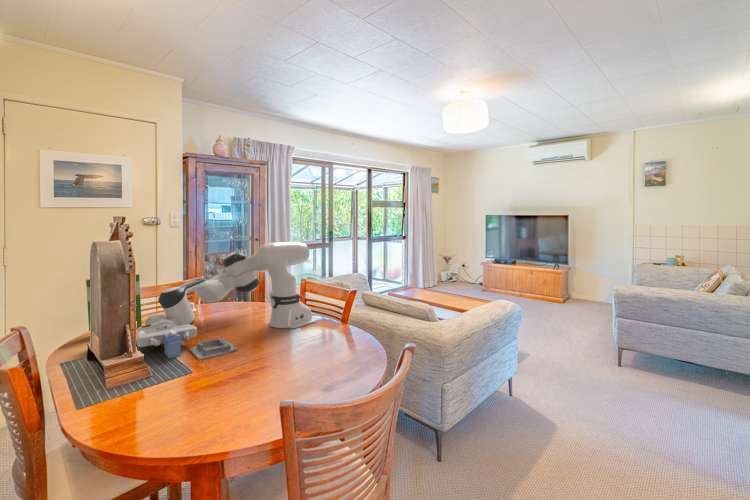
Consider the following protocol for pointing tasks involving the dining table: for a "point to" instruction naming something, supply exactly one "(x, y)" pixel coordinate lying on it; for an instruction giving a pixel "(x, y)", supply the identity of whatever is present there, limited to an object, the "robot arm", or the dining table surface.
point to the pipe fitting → (192, 306)
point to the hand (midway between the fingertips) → (172, 340)
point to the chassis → (212, 348)
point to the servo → (172, 344)
